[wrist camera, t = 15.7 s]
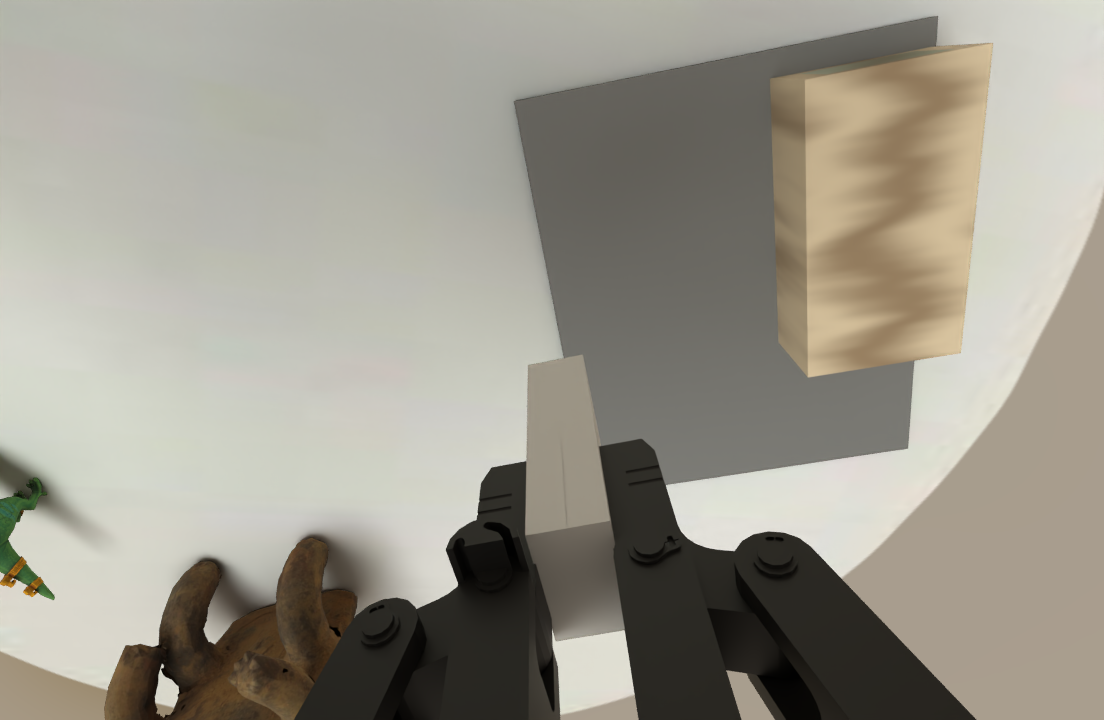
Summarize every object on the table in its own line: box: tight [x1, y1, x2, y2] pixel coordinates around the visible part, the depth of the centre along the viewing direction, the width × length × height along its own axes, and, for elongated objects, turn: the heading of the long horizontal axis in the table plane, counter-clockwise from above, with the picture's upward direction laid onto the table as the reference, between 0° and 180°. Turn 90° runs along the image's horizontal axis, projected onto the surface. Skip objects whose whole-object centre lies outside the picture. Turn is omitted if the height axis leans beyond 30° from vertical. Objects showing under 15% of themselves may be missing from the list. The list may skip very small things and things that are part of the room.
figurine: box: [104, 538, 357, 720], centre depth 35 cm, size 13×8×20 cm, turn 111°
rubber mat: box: [514, 16, 938, 485], centre depth 34 cm, size 24×20×1 cm
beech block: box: [770, 43, 993, 377], centre depth 30 cm, size 8×4×14 cm
